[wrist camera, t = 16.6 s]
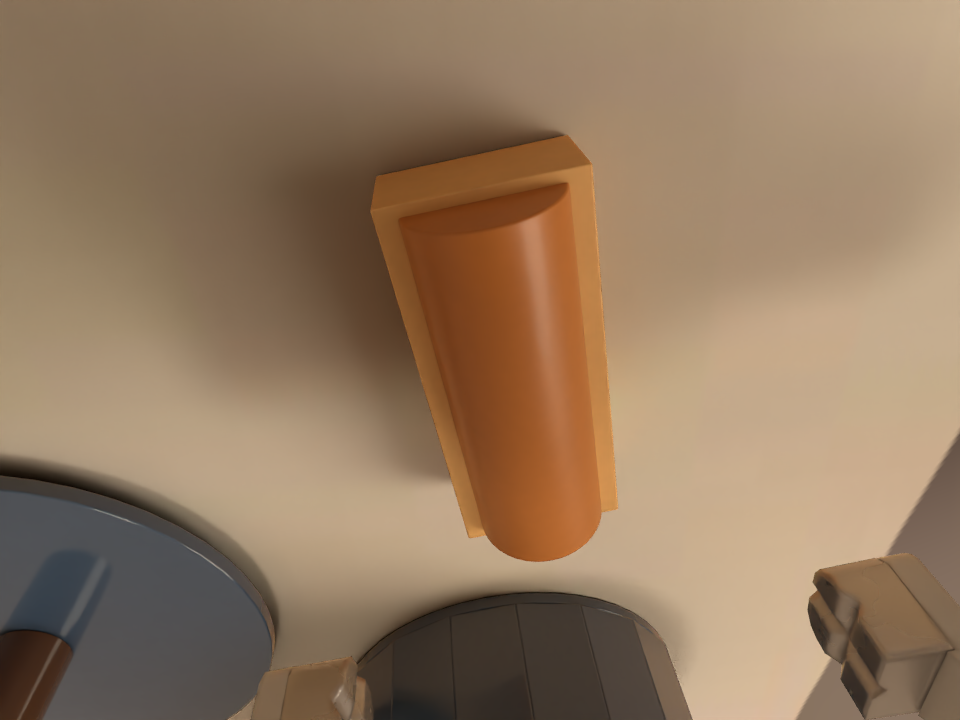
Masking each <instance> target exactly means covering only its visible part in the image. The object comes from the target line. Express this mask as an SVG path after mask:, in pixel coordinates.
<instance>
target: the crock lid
mask: <svg viewBox="0 0 960 720" xmlns="http://www.w3.org/2000/svg"><path fill="white" fill-rule="evenodd" d="M274 648H275V633H274V626H273V622H272V619H271V616H270V612H269V609H268V608H267V606H266V604H265V602H264V600H263V598H262V596H261V594H260V593H259V592H258V590H257V589H256V588H255V586H254V585H253V584H252V583H251V581H250V580H249V579H248V577H247V576H246V575H245V574H244V573H243V572H242V571H241V570H240V569H239V568H238V567H236V566H235V565H234V564H233V563H232V562H231V561H230V560H229V559H228V558H227V557H225V556H224V555H223V554H221V553H220V552H219V551H217V550H216V549H215V548H213V547H212V546H211V545H209V544H208V543H207V542H205V541H203V540H202V539H200V538H198V537H197V536H195V535H193V534H192V533H190V532H188V531H187V530H185V529H183V528H181V527H180V526H178V525H176V524H174V523H172V522H169V521H167V520H165V519H163V518H161V517H159V516H157V515H155V514H152V513H150V512H148V511H146V510H143V509H140V508H138V507H135V506H132V505H129V504H127V503H124V502H121V501H119V500H116V499H113V498H110V497H106V496H103V495H99V494H96V493H92V492H89V491H85V490H82V489H78V488H74V487H69V486H64V485H59V484H54V483H49V482H44V481H39V480H33V479H25V478H17V477H8V476H0V720H228V719H229V718H230V717H232V716H233V715H235V714H236V713H237V712H239V711H240V710H242V709H243V708H244V707H245V706H246V705H247V704H248V703H249V702H250V701H251V700H252V699H253V698H254V697H255V696H256V694H257V690H258V685H259V683H260V681H261V679H262V677H263V675H264V673H265V672H268V671H270V669H271V664H272V659H273V653H274Z"/></svg>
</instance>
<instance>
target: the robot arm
mask: <svg viewBox="0 0 960 720" xmlns="http://www.w3.org/2000/svg"><path fill="white" fill-rule="evenodd" d="M813 583H814V585H815V586H816V588H817V591H816V592H815V593H814V594H813V595H812V596H811V597H810V598H809V604H808V614H809V619H810V623H811V627H812V629H813V631H814V634H815V636H816V638H817V640H818V642H819V644H820V645H821V647H822V649H823V650H824V652H825V653H826V654H827V655H829V656H830V657H832V658H833V659H835V660H836V661H838V662H839V663H841V664H842V670H841V681H842V683H843V684H844V686H845V688H846V689H847V691H848V692H849V694H850V696H851V697H852V699H853V701H854V702H855V704H856V706H857V707H858V709H859V711H860V712H861V714H862V716H863V717H864V719H865V720H869V719H876V718H882V717H889V716H896V715H903V714H909V713H915V712H919V715H918V716H920V717H921V718H923V719H924V720H960V606H959V605H958V604H957V603H956V602H955V600H954V599H953V598H952V597H951V596H950V595H949V593H948V592H947V591H946V590H945V589H944V588H943V587H942V585H941V584H940V583H939V582H938V581H937V580H936V579H935V577H934V576H933V575H932V574H931V573H930V571H929V570H928V569H927V568H926V567H925V566H924V565H923V564H922V562H921V561H920V560H919V559H918V558H917V557H915V556H913V555H912V554H908V553H901V554H896V555H891V556H886V557H880V558H873V559H868V560H863V561H858V562H853V563H848V564H843V565H839V566H834V567H829V568H824V569H820V570H818V571H817V572H815V575H814V579H813ZM357 670H358V665H357V664H356V662H355V661H354V659H353V657H352V656H350V657H345V658H339V659H334V660H329V661H323V662H318V663H312V664H307V665H302V666H293V667H288V668H283V669H278V670H273V671H268V672H265V673H264V675H263V677H262V679H261V681H260V683H259V685H258V690H257V694H256V699H255V703H254V707H253V712H252V716H251V720H374V715H373V703H372V696H371V692H370V689H369V686H368V684H367V682H366V680H365V679H363V678H361V677H358V676H357Z"/></svg>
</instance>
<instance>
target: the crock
mask: <svg viewBox="0 0 960 720" xmlns="http://www.w3.org/2000/svg"><path fill="white" fill-rule="evenodd" d="M357 676H358V677H361V678H363V679H365V680H366V682H367V684H368V686H369V689H370V692H371V696H372V703H373V715H374V720H693V719H692V717H691V714H690V711H689V708H688V706H687V703H686V700H685V697H684V695H683V692H682V689H681V686H680V684H679V681H678V678H677V675H676V673H675V670H674V667H673V664H672V662H671V659H670V656H669V654H668V651H667V648H666V645H665V643H664V642H663V640H662V638H661V637H660V635H659V634H658V633H657V631H656V630H655V629H654V628H653V627H652V626H651V625H650V624H648V623H647V622H646V621H645V620H644V619H642V618H641V617H639V616H637V615H636V614H634V613H633V612H631V611H629V610H626V609H624V608H622V607H620V606H617V605H615V604H611V603H608V602H605V601H601V600H598V599H593V598H588V597H583V596H578V595H568V594H557V593H523V594H510V595H501V596H495V597H488V598H482V599H477V600H473V601H469V602H465V603H460V604H457V605H454V606H450V607H447V608H444V609H441V610H438V611H435V612H433V613H430V614H428V615H426V616H423V617H421V618H419V619H416V620H414V621H412V622H410V623H408V624H407V625H405V626H403V627H401V628H399V629H397V630H396V631H394V632H393V633H391V634H390V635H388V636H387V637H386V638H384V639H383V640H381V641H380V642H379V643H378V644H377V645H375V646H374V647H373V648H372V649H371V650H370V651H369V652H368V653H367V654H366V655H365V656H364V658H363V659H362V660H361V661H360V663H359V664H358V670H357Z"/></svg>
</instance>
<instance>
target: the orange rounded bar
mask: <svg viewBox="0 0 960 720" xmlns="http://www.w3.org/2000/svg"><path fill="white" fill-rule="evenodd" d="M370 212H371V216H372V219H373V222H374V225H375V229H376V232H377V235H378V239H379V242H380V245H381V249H382V252H383V255H384V259H385V262H386V265H387V268H388V272H389V275H390V278H391V282H392V285H393V288H394V292H395V295H396V298H397V302H398V305H399V308H400V312H401V315H402V318H403V321H404V325H405V328H406V331H407V335H408V338H409V341H410V345H411V348H412V351H413V355H414V358H415V361H416V365H417V368H418V371H419V374H420V378H421V381H422V384H423V388H424V391H425V394H426V398H427V401H428V404H429V408H430V411H431V414H432V418H433V421H434V424H435V427H436V431H437V434H438V437H439V441H440V444H441V447H442V451H443V454H444V457H445V461H446V464H447V467H448V471H449V474H450V477H451V480H452V484H453V487H454V490H455V494H456V497H457V500H458V504H459V507H460V510H461V514H462V517H463V520H464V524H465V527H466V530H467V533H468V537H469V538H474V537H479V536H484V535H486V536H487V537H488V539H489V540H490V541H491V543H492V544H493V545H494V546H495V547H496V548H498V549H499V550H500V551H502V552H503V553H505V554H507V555H509V556H511V557H514V558H517V559H520V560H525V561H534V562H540V561H550V560H555V559H559V558H562V557H564V556H567V555H569V554H571V553H573V552H575V551H577V550H578V549H579V548H581V547H582V546H583V545H584V544H586V543H587V542H588V541H589V539H590V538H591V537H592V536H593V534H594V533H595V531H596V530H597V527H598V525H599V523H600V519H601V512H606V511H611V510H616V509H618V501H617V488H616V475H615V462H614V448H613V435H612V422H611V409H610V395H609V382H608V369H607V356H606V342H605V329H604V316H603V302H602V289H601V276H600V263H599V249H598V236H597V223H596V210H595V196H594V183H593V170H592V163H591V162H590V161H589V160H588V158H587V157H586V156H585V155H584V154H583V153H582V151H581V150H580V149H579V148H578V147H577V146H576V144H575V143H574V142H573V141H572V140H571V139H570V137H569V136H568V135H565V136H560V137H556V138H551V139H547V140H542V141H537V142H533V143H528V144H523V145H519V146H514V147H509V148H505V149H500V150H495V151H491V152H486V153H481V154H477V155H472V156H468V157H463V158H458V159H454V160H449V161H444V162H440V163H435V164H430V165H426V166H421V167H416V168H412V169H407V170H402V171H398V172H393V173H389V174H384V175H379V176H377V177H376V181H375V187H374V193H373V198H372V204H371V211H370Z"/></svg>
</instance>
